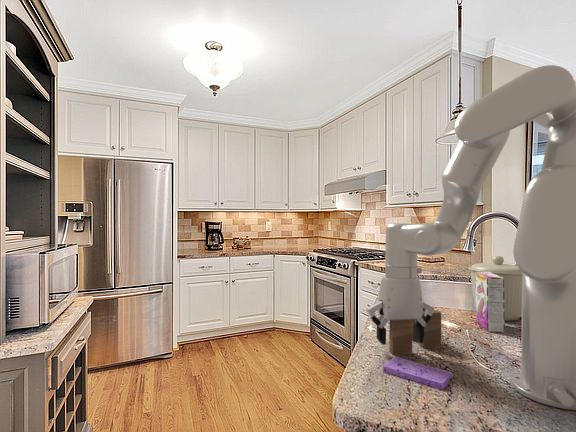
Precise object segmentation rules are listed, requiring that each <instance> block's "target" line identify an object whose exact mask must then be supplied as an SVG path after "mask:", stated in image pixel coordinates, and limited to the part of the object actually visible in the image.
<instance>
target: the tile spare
mask: <svg viewBox="0 0 576 432" xmlns="http://www.w3.org/2000/svg"><path fill="white" fill-rule="evenodd" d="M388 323H389V330H388V331H389V334H388V335H389V337H388V338H389V339H388V341H389V342H388V343H389V345H388V346H389V347H388V349H389V351H388V352H389V354H391V355H393V356H397V355H398V356H399V355H412V354H413V341H412V320H389V321H388Z"/></svg>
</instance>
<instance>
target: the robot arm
mask: <svg viewBox="0 0 576 432" xmlns="http://www.w3.org/2000/svg"><path fill="white" fill-rule="evenodd" d="M529 122H533V123H535V124H537V125H539V126H541V127H543V128H545V130H546V131H547V133H548V134H547V135H548V136H547V137H548V138H547V141H546V145H545V149H544V155H543V156H544V157H543V161H542V165H541V171H539V172H538V173H536V174H535V175H534V176H533V177H532V178H531V179H530V181H529V182H528V185H527V186H526V189H525V192H524V195H523V201H522V204H521V205H522V206H521V209H520V214H519V219H518V224H517V228H516V229H517V230H516V234H515V239H514V244H513V252H512V254H513V260H514V263H515V264H516V266H518V268H519V269H520V270H521V271H522V272H523V278H522V314H521V373H518V374H516V375H514V376H512V379H511V384H512V387H513V388H514V389H515V390H516V392H518V393H519V394H520V395H522V396H524V397H526V398H529V399H530V400H532V401H536V402H537V403H540V404H543V405H546V406H550V407H554V408H559V409H563V410H570V411H576V82H575V79H574V77H573V75H572V73H571V72H570V71H569V70H568V69H566V68H564V67H561V66H559V65H555V64H550V65H548V64H547V65H541V66H538V67H535V68H532V69H530V70H528V71H525V72H524V73H522V74H521V75H518V76H516V77H515V78H514V79H511V80H510V81H508V82H507V83H504V84H503V85H501V86H500V87H498V88H496V89H495V90H492V91H490V92H489V93H487V94H485V95H484V96H482V97H480V98H479V99H477V100H475V101H473V102H472V103H471V104H469V105H468V106H467V107H465V108H464V109H463V110H462V111H461V112H460V113H459V115H458V116H457V118H456V120H455V122H454V133H455V135H456V137H457V139H458V143H457V145H456V147H455V149H454V152H453V153H452V155H451V158H450V159H449V161H448V163H447V165H446V167H445V169H444V171H443V172H442V176H441V184H442V188H443V201H442V203H441V206H440V208H439V212H438V213H437V215H436V217H435V219H434V221H433V222H424V223H417V224H416V223H405V222H403V223H402V222H401V223H399V222H397V223H396V222H395V223H389V224H387V226H386V228H385V262H384V263H385V268H384V269H385V270H384V273H385V274H384V276H383V277H381V281H380V285H379V290H378V291H379V292H378V299H377V302H376V303H375V304H372V305H370V306H369V307H367V308H366V313H367V315H368V317H369V319H370V320H371V321H372V323H374V325H375V326H376V339H377V340H378V342H379V343H380V344H381V345H386V344H387V328H385V326H386V325H387V323H389V321H390V320H415V321H416V323H415V325H414V339H415V340H417V341H416V342H418V343H419V342H420V343H423V338H424V327H425V326H426V325H427V324H426V323H427V322H428V321H429V320H430V319H431V316H432V314H433V312H434V311H435V308H434V307H433V306H431V305H429V304H427V303H425V302H424V301H423V293H422V285H421V282H420V278H418V276H419V275H420V274H422V272H423V270H422V268H421V267H418V255H421V256H426V257H427V256H429V257H430V256H432V257H433V256H436V255H440V254H441V255H442V254H446V253H449V252H451V251H452V250H453V249H455V248H456V246H457V245H458V244H459V242H460V241H461V239H462V237H463V235H464V233H465V232H466V230H467V227H468V226H469V224H470V222H471V219H472V218H473V215H474V212H475V210H476V207H477V204H478V200H479V198H480V194H481V190H482V188H483V186H484V185H485V183H486V181H487V179H488V177H489V175H490V173H491V171H492V169H493V168H494V166H495V164H496V162H497V161H498V159H499V157H500V155H501V153H502V151H503V149H504V147H505V145H506V144H507V141H508V139H509V136H510V134H511V133H510V132H511V130H514V129H516V128H518V127H520V126H522V125H524V124H526V123H529ZM423 308H424V309H425V310H426V311H425V314H423ZM376 312H377V313H378V315H379V316H378V317H377V316H376ZM422 314H423V315H422Z"/></svg>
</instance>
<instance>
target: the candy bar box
mask: <svg viewBox="0 0 576 432" xmlns="http://www.w3.org/2000/svg"><path fill="white" fill-rule="evenodd" d="M475 273H476V309H475V322H476V323H477V324H479V325H480V326H481V327H482V328H483V329H484V330H485V331H487V332H488V333H489V332H490V333H502V334H505V333H506V331H505V330H506V329H505V320H504V278H503V277H500V276H498V275H496V274H493V273H491V272H475Z"/></svg>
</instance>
